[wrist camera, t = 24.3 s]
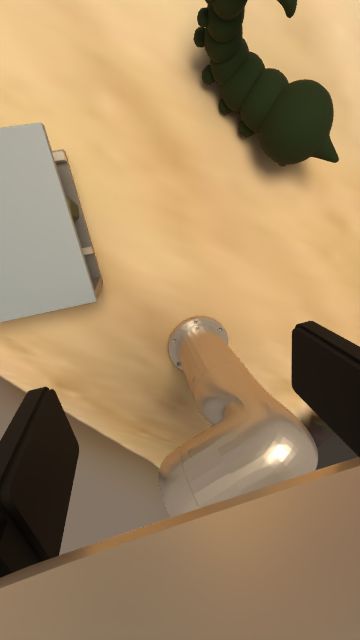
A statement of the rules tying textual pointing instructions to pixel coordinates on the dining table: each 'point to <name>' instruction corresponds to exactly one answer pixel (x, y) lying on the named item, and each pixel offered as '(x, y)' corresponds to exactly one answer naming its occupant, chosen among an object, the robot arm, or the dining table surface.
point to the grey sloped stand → (79, 219)
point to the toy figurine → (264, 89)
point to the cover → (36, 230)
